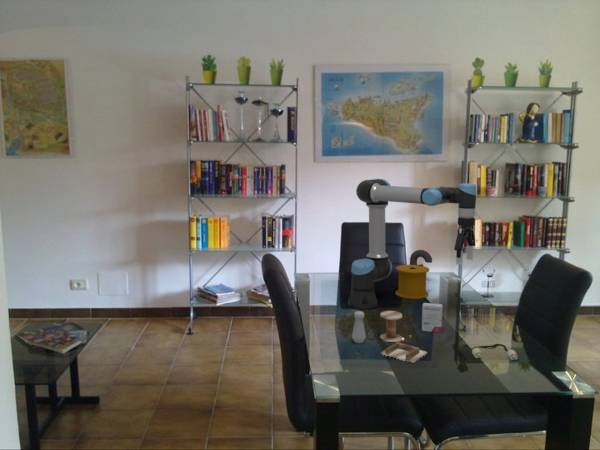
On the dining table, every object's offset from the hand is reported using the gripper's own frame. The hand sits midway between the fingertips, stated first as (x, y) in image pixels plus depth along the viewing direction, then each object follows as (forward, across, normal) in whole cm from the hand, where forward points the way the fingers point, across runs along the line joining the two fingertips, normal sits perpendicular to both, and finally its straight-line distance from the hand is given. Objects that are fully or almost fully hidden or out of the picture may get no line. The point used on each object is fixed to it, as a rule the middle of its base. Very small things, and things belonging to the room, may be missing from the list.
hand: (464, 261), depth 233 cm
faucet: (+28, +50, +46) cm, 73 cm away
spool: (+28, +23, +37) cm, 52 cm away
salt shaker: (+28, -56, +23) cm, 66 cm away
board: (+28, -56, +2) cm, 62 cm away
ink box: (+28, -24, +5) cm, 37 cm away
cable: (+28, -33, -24) cm, 50 cm away
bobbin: (+28, -45, +14) cm, 54 cm away
